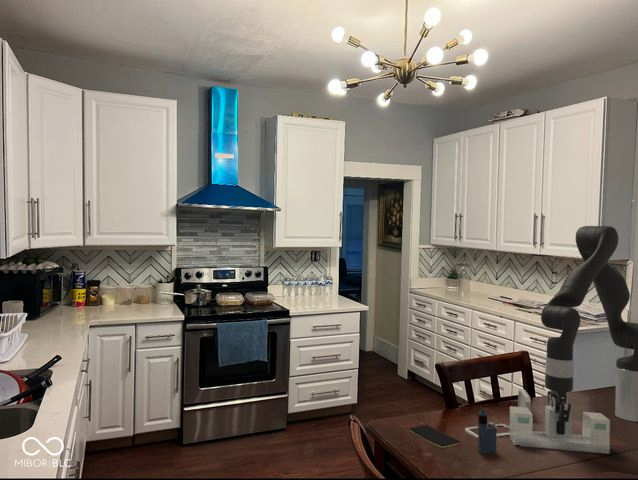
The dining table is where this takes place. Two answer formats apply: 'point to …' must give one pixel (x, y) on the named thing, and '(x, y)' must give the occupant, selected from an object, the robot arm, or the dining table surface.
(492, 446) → the vaping device
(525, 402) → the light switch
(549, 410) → the grey module
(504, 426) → the white rectangular frame
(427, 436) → the smartphone
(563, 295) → the robot arm
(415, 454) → the dining table surface
